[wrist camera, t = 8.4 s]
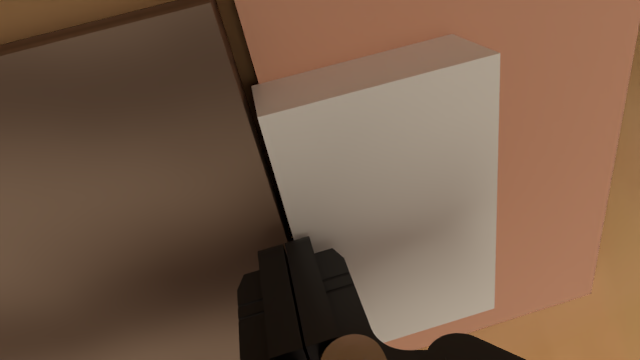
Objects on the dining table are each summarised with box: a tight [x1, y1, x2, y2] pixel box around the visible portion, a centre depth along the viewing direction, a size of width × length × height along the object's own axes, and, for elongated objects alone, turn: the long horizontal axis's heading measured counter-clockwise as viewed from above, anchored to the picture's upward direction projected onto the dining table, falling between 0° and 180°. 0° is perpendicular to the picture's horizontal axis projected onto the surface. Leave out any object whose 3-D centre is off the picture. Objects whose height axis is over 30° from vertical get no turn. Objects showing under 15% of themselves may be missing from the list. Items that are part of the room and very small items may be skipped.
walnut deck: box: [0, 0, 291, 360], centre depth 14 cm, size 14×10×2 cm
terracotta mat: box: [234, 0, 640, 350], centre depth 15 cm, size 18×12×1 cm, turn 12°
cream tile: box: [251, 34, 500, 343], centre depth 13 cm, size 9×6×2 cm, turn 12°
